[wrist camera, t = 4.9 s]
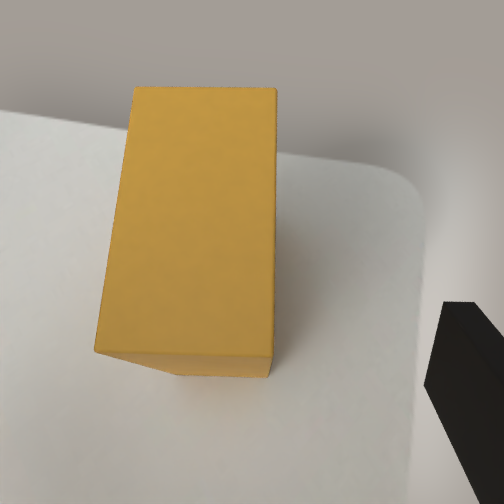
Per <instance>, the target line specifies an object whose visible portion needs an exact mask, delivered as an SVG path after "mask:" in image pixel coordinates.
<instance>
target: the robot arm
mask: <svg viewBox="0 0 504 504" xmlns="http://www.w3.org/2000/svg"><path fill="white" fill-rule="evenodd" d="M424 387H425V389H426V391H427V393H428V395H429V397H430V400H431V402H432V404H433V406H434V408H435V410H436V412H437V414H438V417H439V419H440V421H441V423H442V425H443V427H444V429H445V431H446V433H447V435H448V438H449V440H450V442H451V444H452V446H453V448H454V450H455V452H456V454H457V457H458V459H459V461H460V463H461V465H462V467H463V469H464V472H465V474H466V476H467V478H468V480H469V482H470V484H471V486H472V488H473V490H474V493H475V495H476V497H477V499H478V501H479V503H480V504H504V337H503V336H502V335H501V333H500V332H499V331H498V330H497V329H496V328H495V326H494V325H493V324H492V323H491V321H490V320H489V319H488V318H487V317H486V316H485V314H484V313H483V312H482V311H481V309H480V308H479V307H478V306H477V305H476V304H475V303H474V302H443V306H442V310H441V315H440V318H439V323H438V328H437V331H436V335H435V340H434V344H433V348H432V352H431V356H430V361H429V365H428V369H427V373H426V378H425V382H424Z"/></svg>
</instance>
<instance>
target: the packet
mask: <svg viewBox="0 0 504 504" xmlns="http://www.w3.org/2000/svg"><path fill="white" fill-rule="evenodd" d="M276 156H277V89H276V88H241V87H239V88H238V87H232V88H231V87H135V88H134V95H133V101H132V108H131V114H130V120H129V127H128V133H127V140H126V146H125V152H124V159H123V165H122V172H121V178H120V185H119V191H118V197H117V204H116V210H115V217H114V223H113V230H112V236H111V242H110V249H109V255H108V262H107V268H106V275H105V281H104V288H103V294H102V300H101V307H100V313H99V320H98V326H97V333H96V339H95V345H94V351H95V352H96V353H99V354H103V355H106V356H110V357H114V358H117V359H121V360H124V361H128V362H132V363H135V364H139V365H143V366H146V367H150V368H153V369H157V370H161V371H164V372H168V373H172V374H175V375H198V376H230V377H262V378H267V377H268V376H269V372H270V368H271V364H272V360H273V356H274V309H275V232H276Z"/></svg>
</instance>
